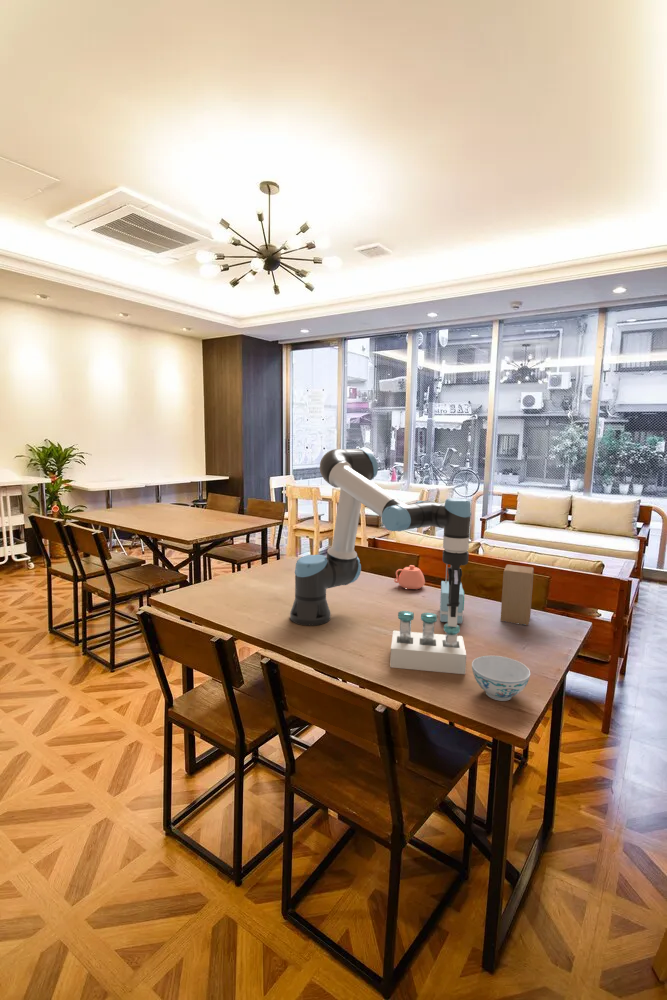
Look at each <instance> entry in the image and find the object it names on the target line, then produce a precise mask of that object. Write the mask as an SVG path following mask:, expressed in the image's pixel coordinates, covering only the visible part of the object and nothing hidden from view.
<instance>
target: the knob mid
mask: <svg viewBox="0 0 667 1000" xmlns="http://www.w3.org/2000/svg"><path fill="white" fill-rule="evenodd" d="M420 620H421V621H422V633H423V636H422V645H429V646H433V641H434V634H435V623H436V622H437V621H438V615H437V614H436V613H433V612H423V613H421V614H420Z"/></svg>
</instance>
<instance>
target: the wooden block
mask: <svg viewBox="0 0 667 1000" xmlns="http://www.w3.org/2000/svg"><path fill="white" fill-rule="evenodd" d="M534 571H535V569H534V567H533V566H523V565H516V564H515V565H514V564H506V565H505V567H504V570H503V576H502V589H501V590H502V593H501V605H500V606H501V607H500V609H501V610H500V622H504V621H506V622H505V623H510V622H512V623H511V624H516V623H519V624H518V625H522V624H526V625H525V626H529V625H528V624H530V620H531V613H532V598H533V597H532V595H533V586H534V583H533V582H534Z"/></svg>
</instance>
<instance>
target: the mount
mask: <svg viewBox="0 0 667 1000" xmlns="http://www.w3.org/2000/svg"><path fill="white" fill-rule="evenodd" d="M422 636H423V632H419V631H418V632H416V631H411V641H410V644H406V643H399V640H400V630H393V631H392V635H391V637H392V638H391V645H390V659H389V660H390V662H389V665H390V668H393V669H394V668H396V669H404V670H405V669H406V670H415V671H424V672H425V671H427V672H436V673H447V674H457V675H466V671H467V670H466V668H467V667H466V666H467V651H466V648H465V647H466V646H465V642H464V638H463V636H462V635H457V647H456V648H452V647H445V640H446V634H440V633H434V641H433V646H429V645H422Z"/></svg>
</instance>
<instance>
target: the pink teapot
mask: <svg viewBox="0 0 667 1000" xmlns="http://www.w3.org/2000/svg"><path fill="white" fill-rule="evenodd" d="M399 572H400V573H399ZM398 573H399V575H398ZM395 576H396V578H394V580H393V581H394V583H397V584H398V585H399V586H400V587H401V588H407V589H406V590H417V589H419V590H420V589H422V588H423V587H424V586H425V584H426V580H425V576H424V573H423V571H422V570H421V569H420V568H419V567H416V566H415V565H413V564H410V565H409V566H405V567H404V568H403V569H402V568H398V569H397V570H396V571H395ZM421 587H422V588H421Z"/></svg>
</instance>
